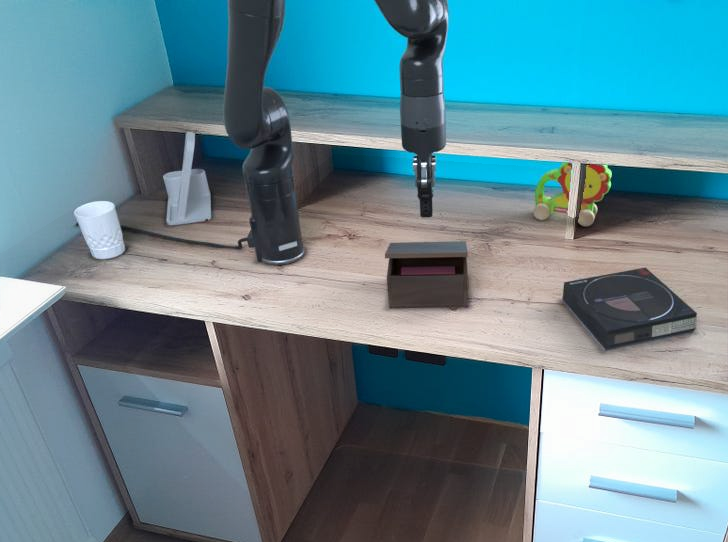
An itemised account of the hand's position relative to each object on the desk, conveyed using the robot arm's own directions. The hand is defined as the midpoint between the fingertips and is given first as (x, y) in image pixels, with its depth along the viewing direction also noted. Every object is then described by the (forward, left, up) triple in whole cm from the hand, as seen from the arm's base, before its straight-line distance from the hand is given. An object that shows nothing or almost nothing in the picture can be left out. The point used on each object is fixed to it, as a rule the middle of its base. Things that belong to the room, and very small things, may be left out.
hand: (426, 215), depth 125 cm
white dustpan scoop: (-58, +38, -14) cm, 71 cm away
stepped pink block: (0, -4, -14) cm, 14 cm away
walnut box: (0, -3, -14) cm, 15 cm away
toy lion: (+31, +27, -14) cm, 44 cm away
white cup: (-69, +16, -14) cm, 72 cm away
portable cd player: (+35, -13, -14) cm, 40 cm away
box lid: (0, -3, -6) cm, 6 cm away
